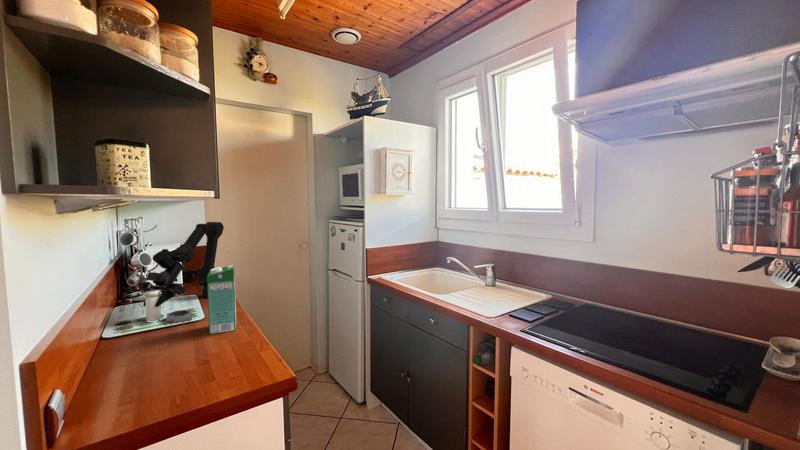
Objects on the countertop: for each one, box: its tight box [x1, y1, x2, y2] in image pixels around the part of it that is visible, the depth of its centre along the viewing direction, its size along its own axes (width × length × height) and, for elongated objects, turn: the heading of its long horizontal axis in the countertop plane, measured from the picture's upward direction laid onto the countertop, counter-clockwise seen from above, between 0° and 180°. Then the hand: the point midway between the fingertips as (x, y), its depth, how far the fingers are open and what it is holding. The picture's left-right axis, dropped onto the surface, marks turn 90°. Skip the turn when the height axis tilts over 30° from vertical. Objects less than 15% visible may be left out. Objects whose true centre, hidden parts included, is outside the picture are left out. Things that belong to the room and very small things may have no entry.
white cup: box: [144, 290, 162, 321], centre depth 137 cm, size 5×5×12 cm
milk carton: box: [207, 264, 237, 335], centre depth 129 cm, size 9×9×25 cm
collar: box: [165, 309, 193, 325], centre depth 139 cm, size 9×9×3 cm
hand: (150, 306), depth 136 cm, fingers closed on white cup, 5 cm apart
